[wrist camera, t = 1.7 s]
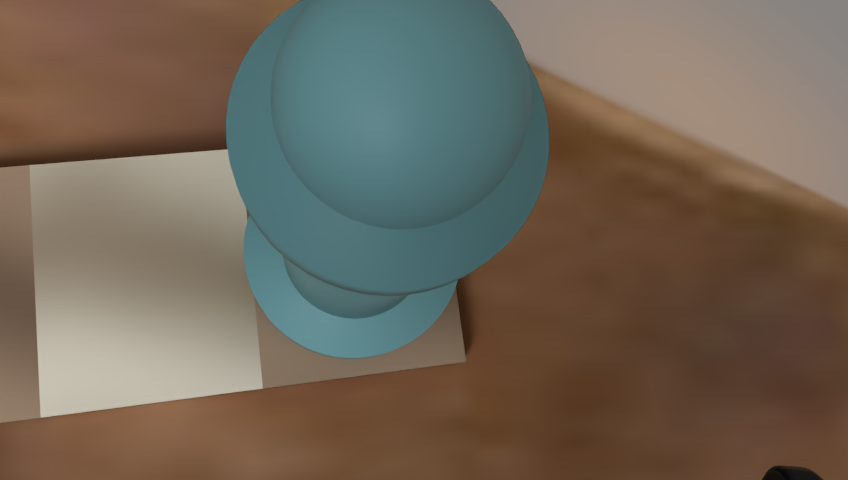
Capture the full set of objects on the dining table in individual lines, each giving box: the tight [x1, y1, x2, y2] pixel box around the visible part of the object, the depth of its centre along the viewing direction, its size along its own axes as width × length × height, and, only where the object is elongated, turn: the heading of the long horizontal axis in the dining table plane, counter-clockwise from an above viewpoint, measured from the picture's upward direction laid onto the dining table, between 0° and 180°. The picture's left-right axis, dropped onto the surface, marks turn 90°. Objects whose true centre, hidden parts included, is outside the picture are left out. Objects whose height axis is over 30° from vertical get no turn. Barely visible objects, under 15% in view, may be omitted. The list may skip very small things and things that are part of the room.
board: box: [0, 149, 466, 423], centre depth 18 cm, size 6×20×1 cm, turn 98°
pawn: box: [226, 0, 549, 359], centre depth 13 cm, size 5×5×12 cm
